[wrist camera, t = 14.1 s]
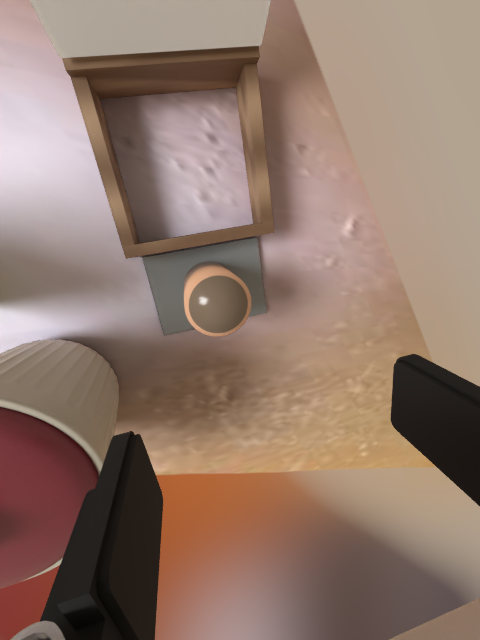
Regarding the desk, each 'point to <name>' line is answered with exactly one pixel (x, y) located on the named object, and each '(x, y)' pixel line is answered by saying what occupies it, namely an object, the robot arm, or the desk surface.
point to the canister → (49, 448)
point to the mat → (173, 266)
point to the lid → (150, 25)
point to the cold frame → (167, 77)
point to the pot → (215, 299)
